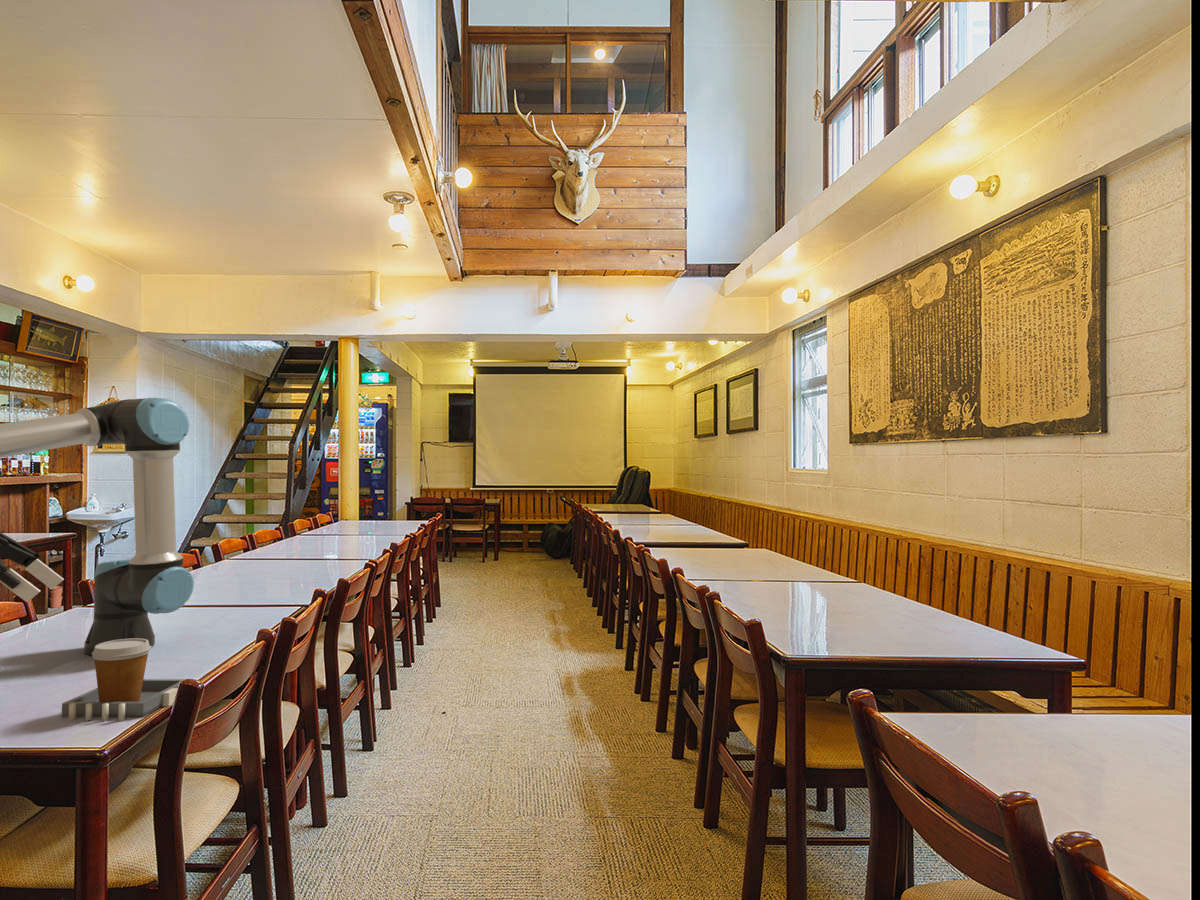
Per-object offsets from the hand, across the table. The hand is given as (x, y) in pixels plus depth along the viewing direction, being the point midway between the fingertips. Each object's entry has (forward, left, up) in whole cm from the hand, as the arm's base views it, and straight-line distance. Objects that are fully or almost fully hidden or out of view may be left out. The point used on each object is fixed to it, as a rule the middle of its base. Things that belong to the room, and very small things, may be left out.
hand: (46, 590), depth 137 cm
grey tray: (+3, +19, -22) cm, 29 cm away
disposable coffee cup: (+5, +18, -22) cm, 29 cm away
